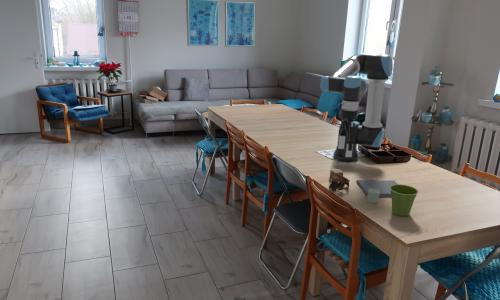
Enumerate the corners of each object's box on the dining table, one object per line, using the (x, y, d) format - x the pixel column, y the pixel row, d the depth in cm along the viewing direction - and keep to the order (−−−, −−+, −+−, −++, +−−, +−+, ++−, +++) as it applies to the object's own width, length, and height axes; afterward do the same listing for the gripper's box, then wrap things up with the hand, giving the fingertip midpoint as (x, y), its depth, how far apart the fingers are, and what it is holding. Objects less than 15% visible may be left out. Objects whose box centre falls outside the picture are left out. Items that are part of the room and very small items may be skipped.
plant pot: (385, 205, 185) (389, 182, 182) (413, 209, 182) (417, 186, 179) (386, 216, 174) (390, 192, 171) (415, 220, 171) (419, 196, 168)
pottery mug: (325, 186, 207) (332, 172, 207) (341, 194, 208) (348, 180, 208) (332, 189, 195) (340, 174, 195) (349, 198, 196) (357, 183, 196)
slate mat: (356, 182, 212) (356, 179, 212) (393, 183, 213) (394, 180, 212) (367, 196, 195) (367, 193, 194) (407, 197, 196) (408, 194, 195)
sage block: (367, 197, 193) (368, 188, 192) (378, 199, 192) (379, 189, 190) (367, 201, 188) (368, 192, 187) (378, 203, 187) (379, 193, 186)
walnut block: (329, 178, 217) (330, 169, 215) (337, 177, 218) (338, 168, 217) (334, 181, 212) (334, 172, 211) (342, 180, 214) (343, 172, 212)
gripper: (335, 104, 202) (331, 145, 208) (348, 114, 178) (343, 160, 184) (350, 105, 202) (345, 145, 208) (365, 115, 178) (359, 160, 184)
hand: (344, 152), depth 196 cm, fingers open, 13 cm apart
